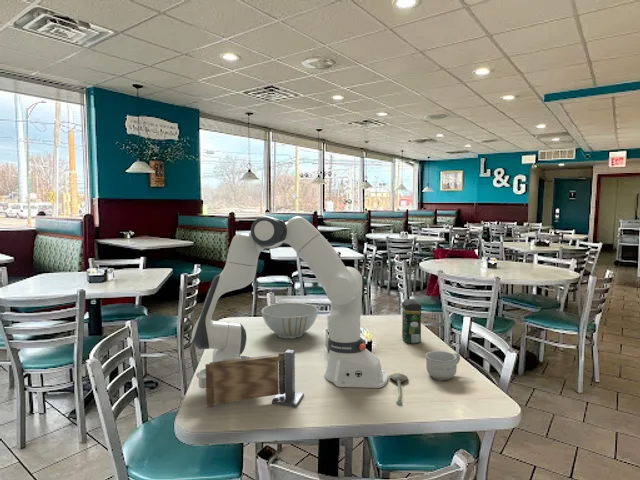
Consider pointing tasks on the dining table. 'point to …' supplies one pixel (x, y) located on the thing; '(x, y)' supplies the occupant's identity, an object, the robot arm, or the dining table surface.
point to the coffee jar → (411, 321)
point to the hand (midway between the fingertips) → (233, 385)
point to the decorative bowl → (289, 318)
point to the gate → (244, 379)
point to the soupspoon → (399, 378)
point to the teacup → (442, 364)
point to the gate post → (289, 384)
